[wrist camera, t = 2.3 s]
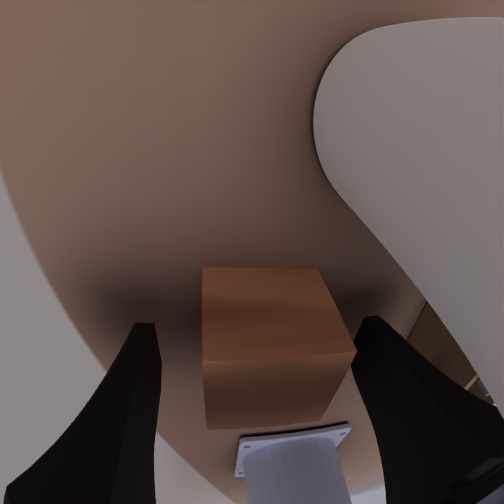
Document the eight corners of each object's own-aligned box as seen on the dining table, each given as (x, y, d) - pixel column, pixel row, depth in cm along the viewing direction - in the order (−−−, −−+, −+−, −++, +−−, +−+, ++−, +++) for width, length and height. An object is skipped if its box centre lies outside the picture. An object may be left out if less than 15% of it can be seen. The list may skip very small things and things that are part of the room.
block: (296, 340, 13) (320, 419, 10) (203, 344, 12) (207, 429, 9) (316, 265, 11) (357, 350, 8) (202, 265, 10) (202, 361, 7)
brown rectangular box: (455, 370, 18) (481, 416, 14) (374, 391, 17) (398, 452, 13) (549, 190, 10) (604, 232, 6) (479, 164, 9) (565, 219, 5)
